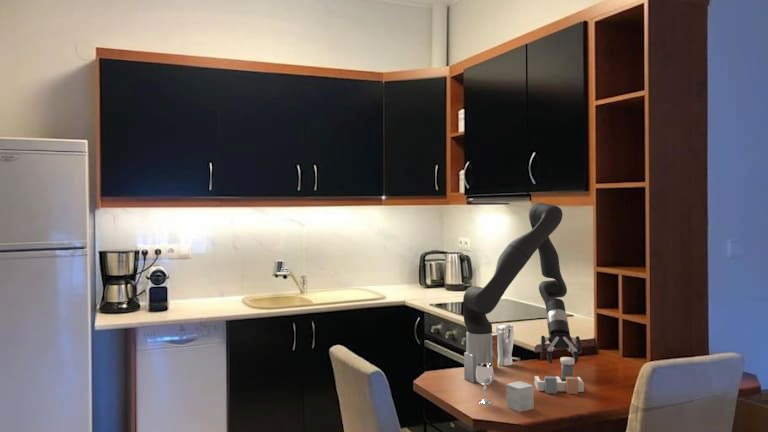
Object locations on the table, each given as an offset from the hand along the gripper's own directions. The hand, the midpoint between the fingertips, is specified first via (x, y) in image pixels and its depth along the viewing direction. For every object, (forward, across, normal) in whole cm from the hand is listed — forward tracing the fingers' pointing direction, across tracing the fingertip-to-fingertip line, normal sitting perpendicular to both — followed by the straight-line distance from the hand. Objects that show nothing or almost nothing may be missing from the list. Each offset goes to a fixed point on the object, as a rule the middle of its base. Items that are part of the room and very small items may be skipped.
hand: (563, 362), depth 220 cm
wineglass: (+24, -29, -15) cm, 41 cm away
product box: (+27, -19, -18) cm, 38 cm away
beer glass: (-9, -19, +17) cm, 27 cm away
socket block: (+12, -3, -4) cm, 14 cm away
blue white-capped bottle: (+12, 0, -3) cm, 12 cm away
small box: (-5, -27, +13) cm, 31 cm away
